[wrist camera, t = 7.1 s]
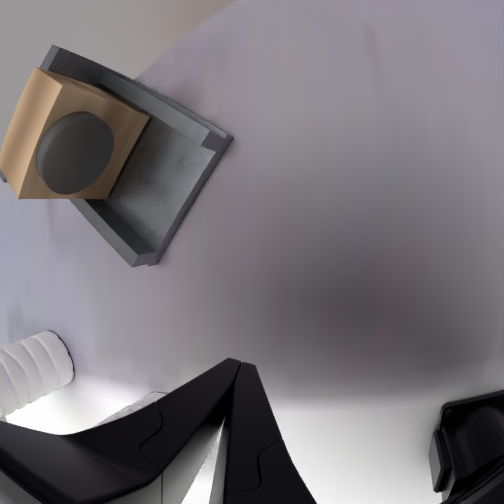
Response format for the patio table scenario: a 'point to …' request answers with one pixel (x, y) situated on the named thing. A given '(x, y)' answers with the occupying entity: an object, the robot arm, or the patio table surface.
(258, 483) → the robot arm
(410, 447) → the patio table surface
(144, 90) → the grey open holder
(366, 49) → the patio table surface
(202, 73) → the patio table surface
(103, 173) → the tan box
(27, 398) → the water bottle
